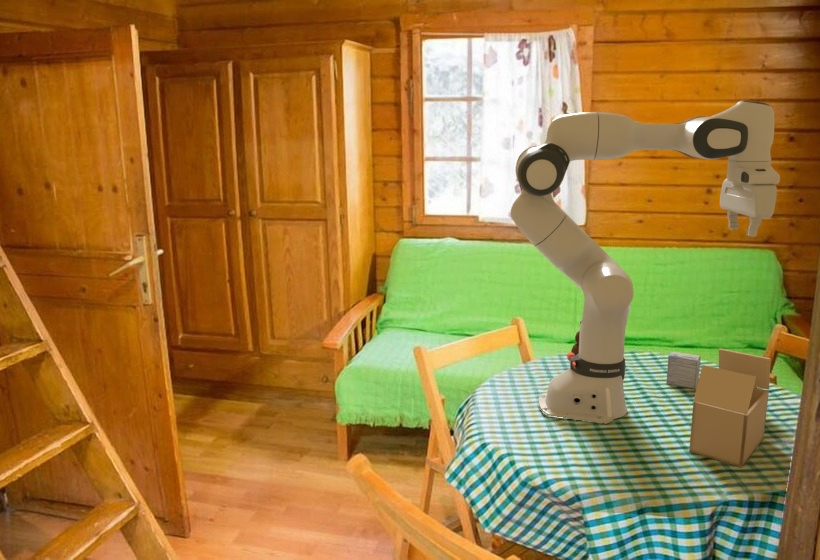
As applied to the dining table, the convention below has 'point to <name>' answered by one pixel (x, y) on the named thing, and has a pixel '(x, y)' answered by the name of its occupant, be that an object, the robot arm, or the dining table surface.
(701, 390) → the front flap
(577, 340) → the wooden figurine
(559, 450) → the dining table surface
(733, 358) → the back flap
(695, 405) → the carton
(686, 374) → the medicine box
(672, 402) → the dining table surface
